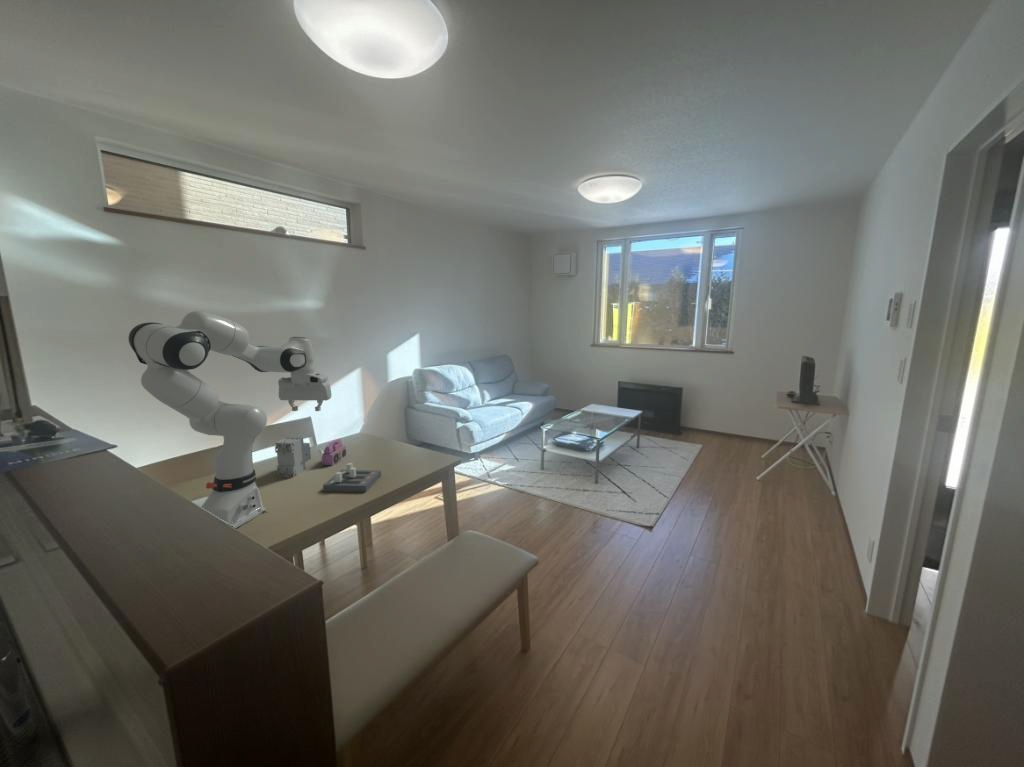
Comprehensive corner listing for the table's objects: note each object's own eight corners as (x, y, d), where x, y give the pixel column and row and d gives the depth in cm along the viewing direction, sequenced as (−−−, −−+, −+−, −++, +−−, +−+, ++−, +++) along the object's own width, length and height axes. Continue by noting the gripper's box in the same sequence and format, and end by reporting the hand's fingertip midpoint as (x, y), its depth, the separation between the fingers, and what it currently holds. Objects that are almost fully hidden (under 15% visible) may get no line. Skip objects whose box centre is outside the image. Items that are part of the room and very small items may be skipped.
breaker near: (340, 482, 162) (339, 473, 161) (335, 482, 162) (335, 473, 161) (342, 480, 164) (341, 472, 163) (338, 480, 164) (337, 471, 163)
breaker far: (351, 472, 171) (350, 464, 171) (346, 472, 172) (346, 464, 171) (353, 470, 173) (352, 463, 173) (349, 470, 174) (348, 463, 173)
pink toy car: (334, 467, 186) (332, 445, 185) (320, 466, 187) (318, 445, 185) (351, 454, 204) (350, 434, 202) (338, 453, 204) (337, 434, 202)
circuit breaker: (313, 465, 188) (311, 433, 185) (294, 477, 174) (291, 443, 171) (298, 464, 189) (295, 433, 186) (277, 476, 175) (274, 442, 172)
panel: (366, 491, 160) (365, 485, 159) (323, 491, 160) (323, 484, 160) (381, 476, 175) (380, 470, 175) (342, 475, 176) (341, 469, 176)
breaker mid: (354, 477, 166) (353, 469, 166) (349, 477, 166) (349, 469, 166) (356, 475, 168) (355, 467, 168) (352, 475, 168) (351, 467, 168)
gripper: (273, 378, 162) (276, 412, 164) (324, 378, 161) (327, 412, 163) (282, 376, 168) (285, 408, 170) (331, 376, 167) (334, 409, 170)
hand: (306, 410), depth 167 cm, fingers open, 8 cm apart
